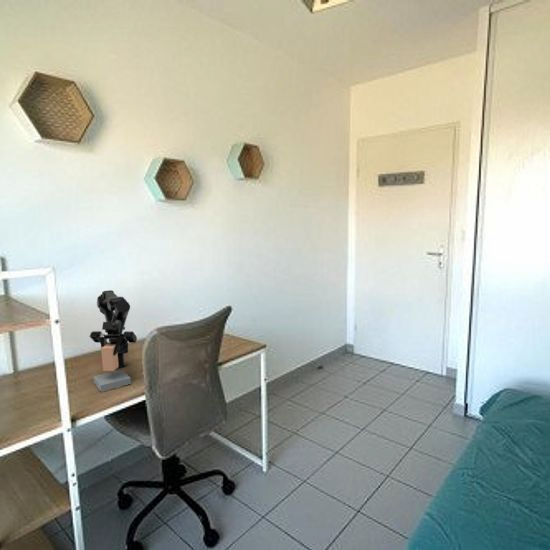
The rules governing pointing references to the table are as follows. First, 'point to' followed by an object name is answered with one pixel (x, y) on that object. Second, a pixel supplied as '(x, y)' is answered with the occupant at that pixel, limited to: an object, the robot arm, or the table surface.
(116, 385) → the base block
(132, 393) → the table surface
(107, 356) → the brick
